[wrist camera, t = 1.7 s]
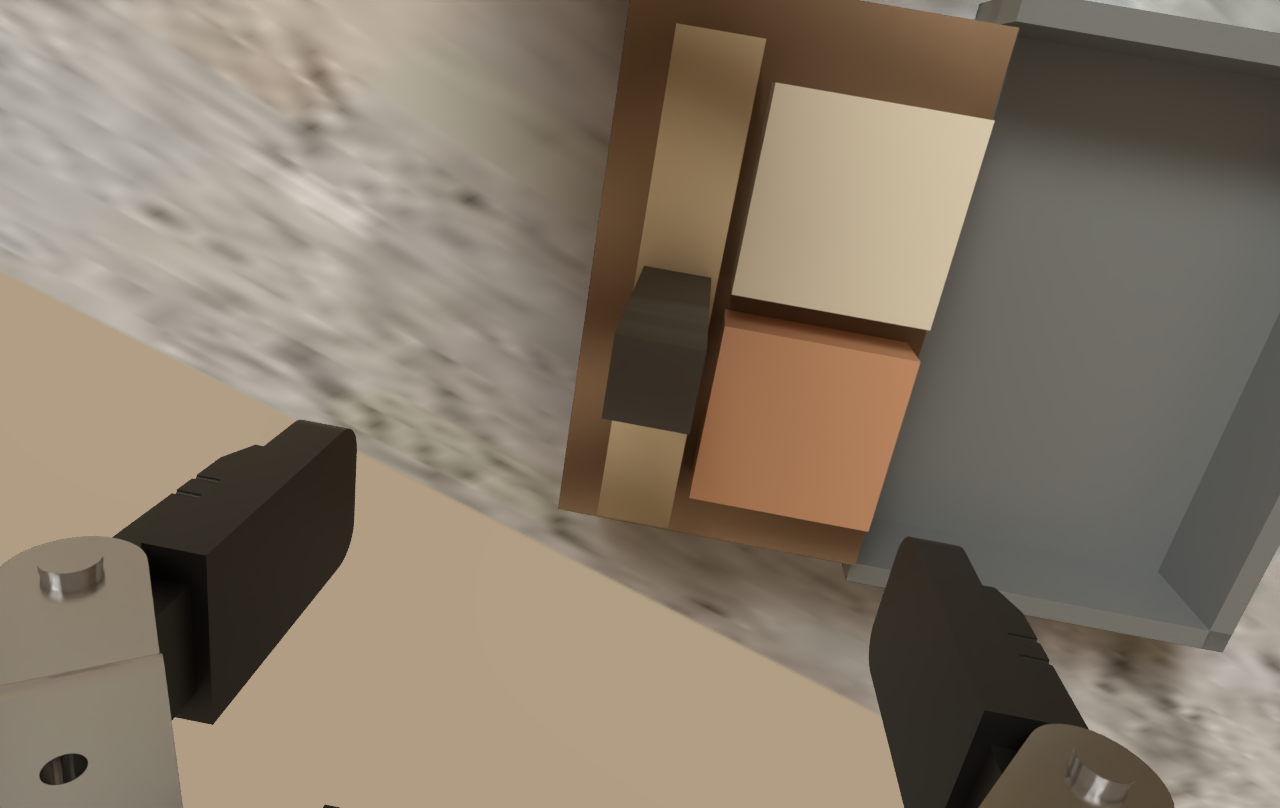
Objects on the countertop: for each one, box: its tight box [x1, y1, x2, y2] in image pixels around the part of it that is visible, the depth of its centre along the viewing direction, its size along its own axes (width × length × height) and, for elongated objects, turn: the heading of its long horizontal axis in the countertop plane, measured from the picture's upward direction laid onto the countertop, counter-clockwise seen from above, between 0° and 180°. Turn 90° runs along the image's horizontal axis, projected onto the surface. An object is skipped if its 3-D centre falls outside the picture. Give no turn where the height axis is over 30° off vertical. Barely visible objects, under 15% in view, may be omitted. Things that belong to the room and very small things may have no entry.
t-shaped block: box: [597, 23, 766, 528], centre depth 22 cm, size 15×2×10 cm, turn 171°
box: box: [842, 0, 1280, 652], centre depth 29 cm, size 20×14×4 cm
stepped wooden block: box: [558, 0, 1019, 565], centre depth 29 cm, size 18×11×5 cm, turn 171°
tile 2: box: [731, 82, 995, 331], centre depth 24 cm, size 6×6×2 cm
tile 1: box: [689, 309, 920, 532], centre depth 27 cm, size 6×6×2 cm
